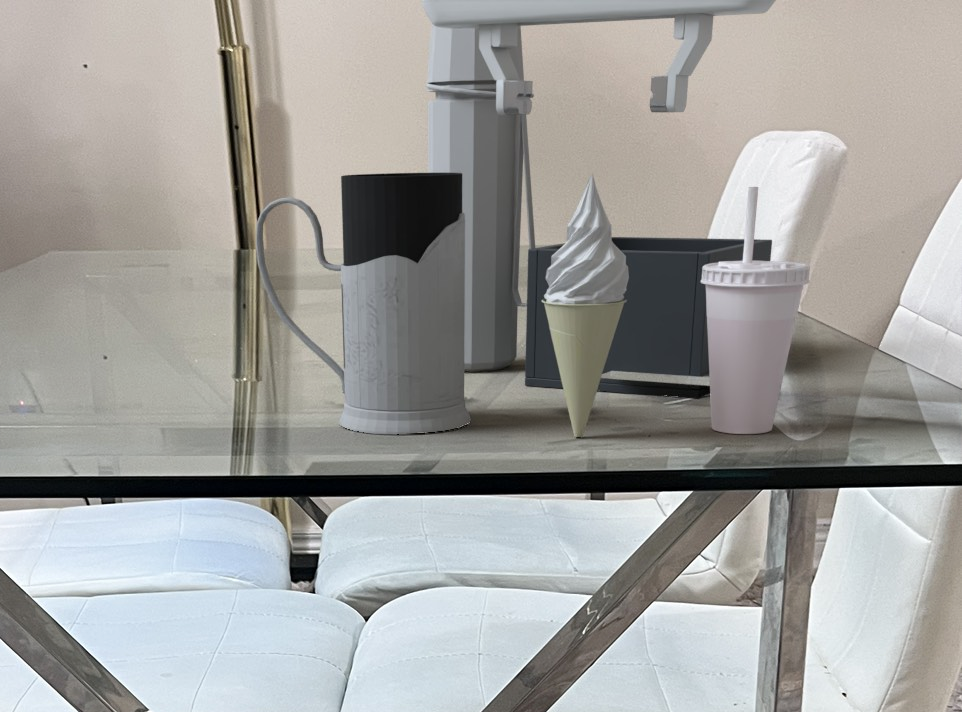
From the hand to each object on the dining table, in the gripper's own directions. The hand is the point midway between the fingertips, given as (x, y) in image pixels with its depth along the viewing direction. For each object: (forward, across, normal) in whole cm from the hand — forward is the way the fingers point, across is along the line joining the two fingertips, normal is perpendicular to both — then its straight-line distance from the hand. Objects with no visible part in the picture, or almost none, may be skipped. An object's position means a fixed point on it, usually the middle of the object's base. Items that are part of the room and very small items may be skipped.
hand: (588, 113), depth 79 cm
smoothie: (+18, -8, -7) cm, 21 cm away
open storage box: (+18, +5, -23) cm, 30 cm away
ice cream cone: (+18, 0, 0) cm, 18 cm away
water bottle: (+18, +19, -23) cm, 35 cm away
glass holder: (+18, +15, +1) cm, 24 cm away
